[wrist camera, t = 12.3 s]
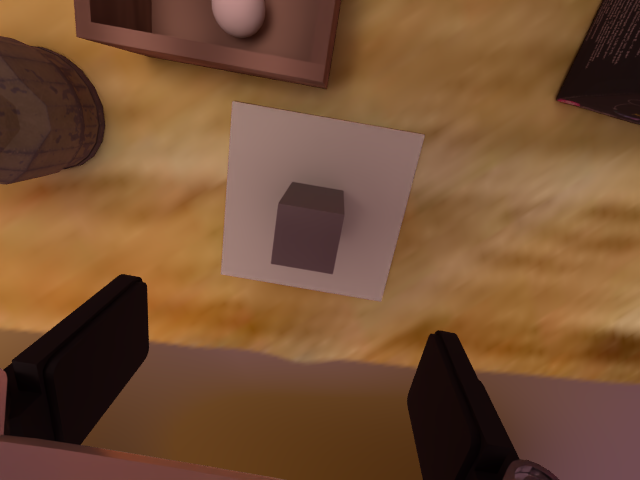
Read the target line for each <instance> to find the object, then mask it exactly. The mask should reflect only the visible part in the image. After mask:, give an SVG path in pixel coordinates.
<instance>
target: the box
mask: <svg viewBox="0 0 640 480" xmlns="http://www.w3.org/2000/svg"><path fill="white" fill-rule="evenodd" d="M264 2H265V18H264V22H263V24H262V26H261V28H260V29H259V30H258V31H257V32H256V33H255V34H254V35H252V36H250V37H246V38H237V37H234V36H232V35H230V34H228V33H226V32H225V31H224V30H223V29H222V28H221V27H220V26H219V24H218V23H217V21H216V19H215V17H214V14H213V10H212V0H74V8H75V21H76V34H77V37H79V38H83V39H86V40H90V41H94V42H97V43H101V44H105V45H108V46H112V47H116V48H119V49H123V50H127V51H130V52H134V53H137V54H141V55H145V56H149V57H155V58H160V59H166V60H171V61H177V62H182V63H188V64H193V65H199V66H204V67H209V68H215V69H220V70H226V71H231V72H237V73H242V74H248V75H253V76H259V77H264V78H270V79H275V80H280V81H286V82H291V83H297V84H302V85H308V86H313V87H319V88H324V89H327V85H328V79H329V73H330V67H331V61H332V54H333V48H334V42H335V36H336V30H337V24H338V18H339V11H340V5H341V0H264Z"/></svg>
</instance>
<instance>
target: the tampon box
mask: <svg viewBox="0 0 640 480" xmlns="http://www.w3.org/2000/svg"><path fill="white" fill-rule="evenodd" d="M557 101H560V102H564V103H567V104H572V105H575V106H578V107H581V108H585V109H588V110H591V111H595V112H598V113H602V114H605V115H608V116H611V117H615V118H618V119H622V120H625V121H629V122H632V123H636V124H639V125H640V0H603V2H602V4H601V6H600V8H599V11H598V13H597V15H596V17H595V19H594V21H593V23H592V25H591V28H590V30H589V32H588V34H587V36H586V38H585V40H584V42H583V44H582V46H581V49H580V51H579V53H578V55H577V57H576V59H575V61H574V63H573V65H572V67H571V70H570V72H569V74H568V76H567V78H566V80H565V82H564V84H563V86H562V88H561V90H560V93H559V95H558V97H557Z"/></svg>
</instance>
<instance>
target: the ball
mask: <svg viewBox="0 0 640 480" xmlns="http://www.w3.org/2000/svg"><path fill="white" fill-rule="evenodd" d="M212 10H213V14H214V17H215V19H216V21H217V23H218V24H219V26H220V27H221V28H222V29H223V30H224V31H225V32H226V33H228V34H230V35H232V36H234V37H237V38H246V37H250V36H252V35H254V34H255V33H256V32H257V31H258V30H259V29H260V28H261V26H262V24H263V22H264V18H265V2H264V0H212Z"/></svg>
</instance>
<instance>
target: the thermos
mask: <svg viewBox="0 0 640 480" xmlns="http://www.w3.org/2000/svg"><path fill="white" fill-rule="evenodd" d="M104 129H105V121H104V114H103V106H102V104H101V102H100V99H99V97H98V95H97V92H96V90H95V88H94V86H93V85H92V83H91V82H90V81H89V79H88V78H87V77H86V75H85V74H84V73H83V72H82V70H81V69H80V68H78V67H77V66H76V65H75V64H73V63H72V62H71V61H70V60H68V59H67V58H66V57H65V56H62V55H60V54H58V53H55V52H53V51H51V50H48V49H46V48H42V47H34V46H29V45H26V44H24V43H22V42H19V41H17V40H15V39H11V38H7V37H2V36H0V184H11V183H15V182H19V181H24V180H28V179H32V178H37V177H41V176H45V175H49V174H53V173H57V172H59V171H61V170H62V169H67V168H71V167H75V166H79V165H82V164H84V163H85V162H86V161H88V160H89V159H90V158H92V157H93V156H94V155H95V153H96V152H97V150H98V148H99V147H100V145H101V143H102V140H103V134H104Z"/></svg>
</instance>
